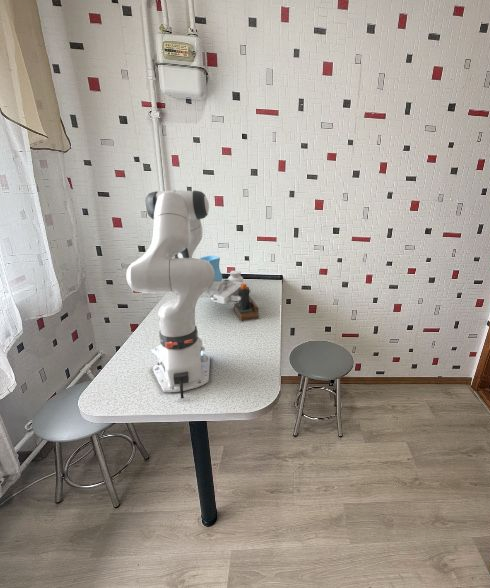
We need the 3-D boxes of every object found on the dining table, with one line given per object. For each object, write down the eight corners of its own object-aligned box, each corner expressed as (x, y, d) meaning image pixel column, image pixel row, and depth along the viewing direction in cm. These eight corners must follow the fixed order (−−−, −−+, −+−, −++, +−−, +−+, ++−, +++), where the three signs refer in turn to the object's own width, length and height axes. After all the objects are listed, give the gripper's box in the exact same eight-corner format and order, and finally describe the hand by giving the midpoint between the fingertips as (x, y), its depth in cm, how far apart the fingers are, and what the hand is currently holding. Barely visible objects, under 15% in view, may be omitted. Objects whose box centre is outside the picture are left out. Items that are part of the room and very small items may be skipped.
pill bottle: (246, 299, 175) (245, 273, 169) (231, 302, 170) (230, 275, 165) (240, 294, 181) (239, 268, 175) (226, 297, 176) (224, 270, 171)
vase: (202, 293, 180) (199, 257, 173) (213, 289, 186) (211, 255, 179) (211, 296, 176) (209, 260, 169) (223, 292, 182) (221, 257, 175)
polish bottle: (250, 309, 157) (250, 285, 152) (240, 310, 155) (239, 286, 150) (248, 305, 161) (247, 282, 156) (237, 306, 159) (236, 283, 154)
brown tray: (258, 318, 155) (258, 306, 153) (241, 321, 152) (241, 309, 149) (250, 307, 167) (249, 296, 164) (234, 309, 163) (233, 298, 161)
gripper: (206, 291, 147) (234, 296, 144) (229, 278, 166) (254, 281, 163) (207, 304, 150) (235, 309, 147) (229, 289, 168) (254, 293, 165)
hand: (245, 294), depth 155 cm, fingers open, 8 cm apart
